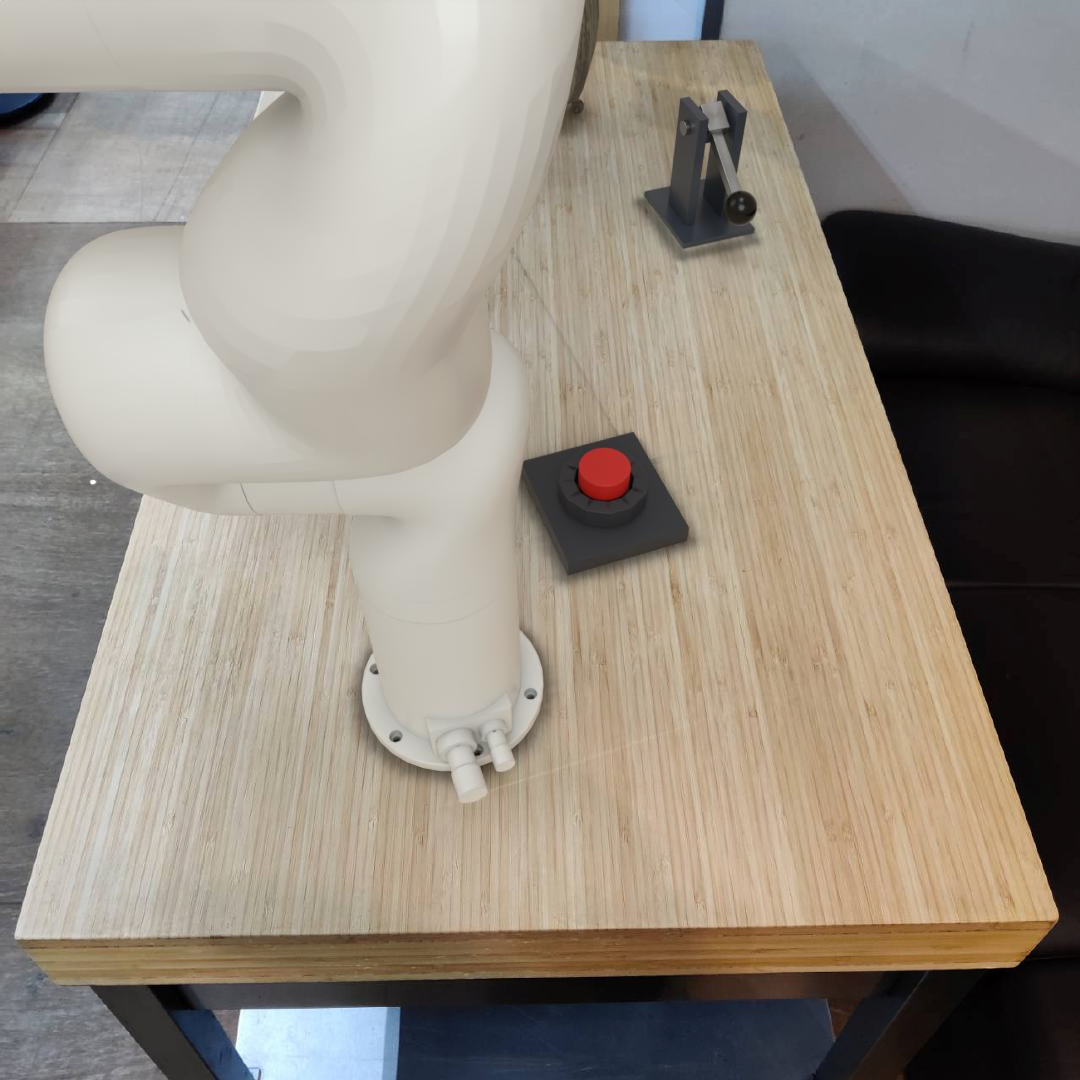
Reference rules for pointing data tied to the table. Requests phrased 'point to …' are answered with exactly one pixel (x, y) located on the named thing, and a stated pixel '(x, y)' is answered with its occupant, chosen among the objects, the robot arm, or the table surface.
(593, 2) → the tabletop clock
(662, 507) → the button box
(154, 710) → the table surface
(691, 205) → the switch bracket
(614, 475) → the red button
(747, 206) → the switch lever
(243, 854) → the table surface
